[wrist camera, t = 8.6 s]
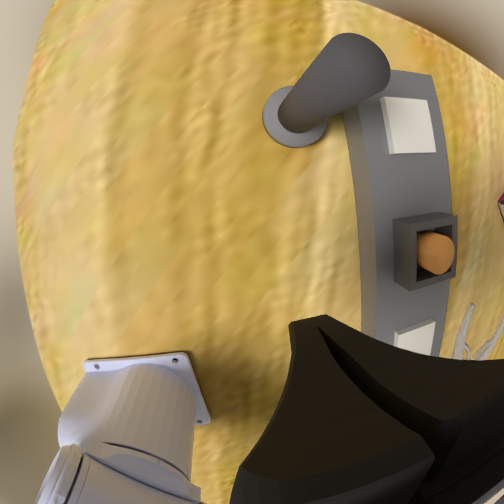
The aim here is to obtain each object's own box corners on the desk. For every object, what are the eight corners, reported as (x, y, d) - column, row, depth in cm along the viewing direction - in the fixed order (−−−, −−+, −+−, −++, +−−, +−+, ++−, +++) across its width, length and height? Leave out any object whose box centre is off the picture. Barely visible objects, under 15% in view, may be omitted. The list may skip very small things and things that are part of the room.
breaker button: (406, 267, 17) (427, 278, 15) (406, 231, 17) (428, 239, 14) (432, 260, 17) (453, 270, 15) (432, 226, 17) (454, 233, 14)
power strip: (359, 376, 22) (380, 409, 18) (334, 78, 16) (362, 55, 12) (422, 353, 23) (447, 379, 18) (413, 83, 17) (448, 69, 12)
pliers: (516, 307, 22) (469, 407, 25) (508, 302, 24) (463, 401, 27) (476, 308, 21) (420, 423, 24) (466, 302, 22) (415, 415, 26)
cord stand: (267, 151, 17) (314, 119, 8) (257, 93, 16) (289, 12, 7) (327, 144, 18) (419, 119, 8) (316, 88, 17) (392, 22, 7)
